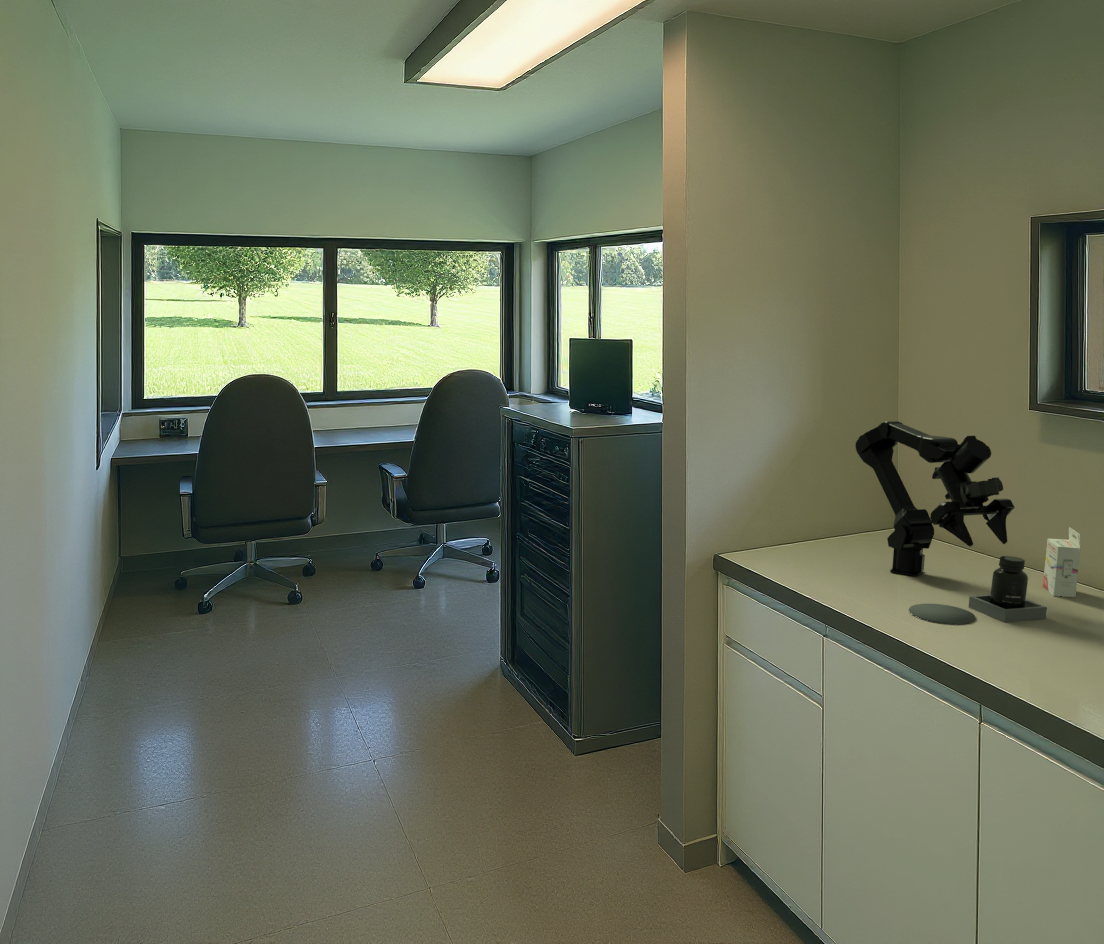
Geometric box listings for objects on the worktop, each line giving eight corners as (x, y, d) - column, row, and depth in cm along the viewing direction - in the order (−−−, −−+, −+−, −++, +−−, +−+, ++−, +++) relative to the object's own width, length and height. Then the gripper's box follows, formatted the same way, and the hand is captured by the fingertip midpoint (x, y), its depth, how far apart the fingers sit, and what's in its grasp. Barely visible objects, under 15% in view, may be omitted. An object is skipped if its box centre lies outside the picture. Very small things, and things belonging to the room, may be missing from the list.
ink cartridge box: (1041, 586, 224) (1047, 525, 222) (1064, 587, 223) (1070, 526, 221) (1052, 596, 216) (1059, 533, 213) (1076, 598, 215) (1083, 534, 212)
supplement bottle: (1009, 619, 198) (1015, 563, 196) (981, 610, 204) (986, 556, 202) (1031, 615, 201) (1037, 560, 200) (1003, 606, 207) (1008, 553, 205)
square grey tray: (968, 607, 206) (969, 596, 206) (1008, 603, 209) (1009, 592, 209) (1004, 622, 196) (1005, 610, 196) (1045, 618, 199) (1047, 607, 199)
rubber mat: (901, 616, 199) (901, 614, 199) (917, 601, 210) (917, 600, 210) (967, 628, 192) (968, 626, 192) (980, 612, 203) (980, 611, 202)
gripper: (944, 466, 207) (975, 527, 199) (1013, 463, 213) (1046, 523, 204) (917, 493, 216) (945, 553, 208) (983, 490, 221) (1014, 548, 213)
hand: (988, 544), depth 208 cm, fingers open, 9 cm apart
